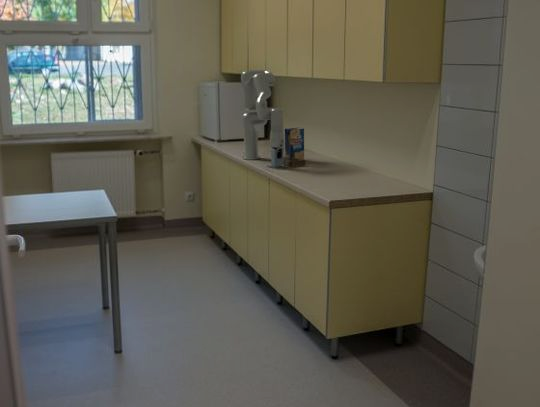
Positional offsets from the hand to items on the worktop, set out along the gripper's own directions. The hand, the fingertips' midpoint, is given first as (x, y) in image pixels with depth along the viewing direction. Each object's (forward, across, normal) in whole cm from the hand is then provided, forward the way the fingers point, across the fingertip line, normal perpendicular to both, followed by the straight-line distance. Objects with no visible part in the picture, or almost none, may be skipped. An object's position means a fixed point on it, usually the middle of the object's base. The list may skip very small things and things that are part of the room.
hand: (277, 157), depth 378 cm
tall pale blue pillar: (+5, 0, 0) cm, 5 cm away
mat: (+6, 0, 0) cm, 6 cm away
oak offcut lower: (+7, -8, +12) cm, 16 cm away
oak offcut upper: (+4, -8, +11) cm, 14 cm away
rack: (+6, -2, +12) cm, 13 cm away
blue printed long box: (+7, -12, +22) cm, 26 cm away
